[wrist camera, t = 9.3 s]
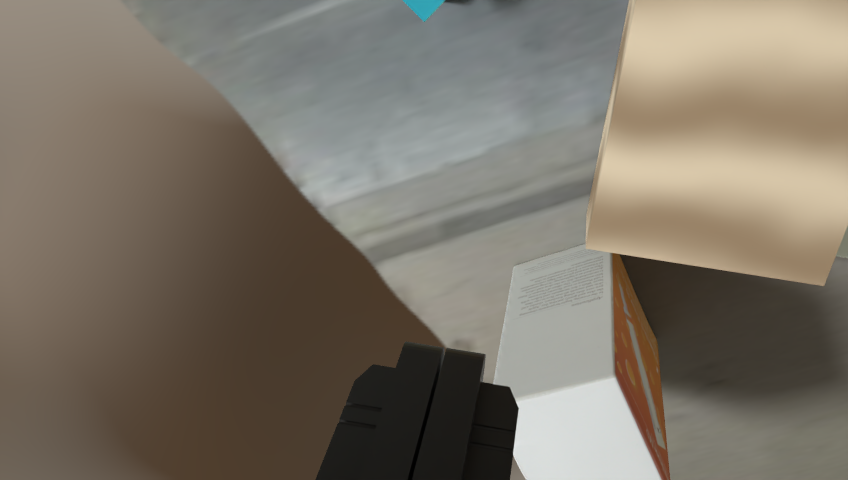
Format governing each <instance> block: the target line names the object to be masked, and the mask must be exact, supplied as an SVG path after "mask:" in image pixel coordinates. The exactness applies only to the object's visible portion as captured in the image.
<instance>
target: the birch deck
mask: <svg viewBox="0 0 848 480" xmlns="http://www.w3.org/2000/svg"><path fill="white" fill-rule="evenodd" d="M847 226H848V0H629V4H628V9H627V14H626V19H625V24H624V29H623V34H622V39H621V44H620V49H619V54H618V59H617V65H616V70H615V75H614V80H613V85H612V90H611V95H610V100H609V105H608V110H607V115H606V120H605V125H604V130H603V135H602V140H601V145H600V150H599V155H598V160H597V165H596V170H595V175H594V180H593V185H592V190H591V195H590V200H589V205H588V210H587V222H586V249H591V250H597V251H604V252H610V253H616V254H623V255H629V256H635V257H642V258H648V259H654V260H661V261H667V262H674V263H680V264H686V265H693V266H699V267H705V268H712V269H718V270H725V271H731V272H737V273H744V274H750V275H756V276H763V277H769V278H776V279H782V280H788V281H795V282H801V283H807V284H814V285H820V286H824V284H825V282H826V279H827V277H828V274H829V272H830V269H831V267H832V264H833V262H834V259H835V257H836V254H837V251H838V249H839V246H840V244H841V241H842V239H843V236H844V234H845V231H846V229H847Z"/></svg>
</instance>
